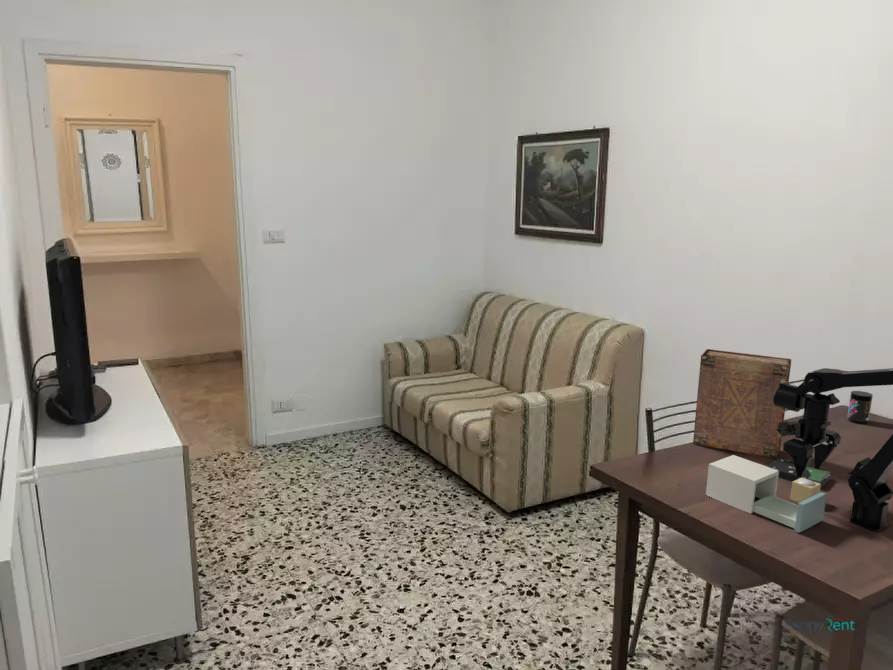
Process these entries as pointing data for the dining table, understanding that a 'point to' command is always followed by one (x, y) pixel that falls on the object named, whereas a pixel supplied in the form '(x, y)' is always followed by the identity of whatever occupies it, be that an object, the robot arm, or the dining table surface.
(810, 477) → the disk drive
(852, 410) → the supplement container
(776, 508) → the tray
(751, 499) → the panel
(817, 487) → the dome button cube
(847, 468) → the dining table surface
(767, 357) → the book
